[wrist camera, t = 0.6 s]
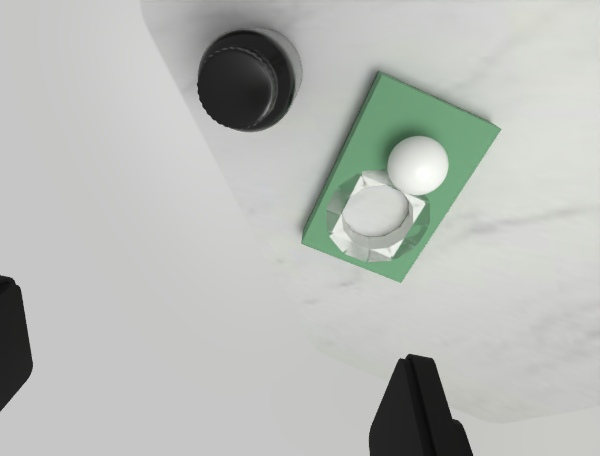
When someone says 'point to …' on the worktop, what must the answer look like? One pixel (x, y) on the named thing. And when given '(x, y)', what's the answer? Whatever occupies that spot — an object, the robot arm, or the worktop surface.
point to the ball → (417, 165)
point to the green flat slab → (373, 172)
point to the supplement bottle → (249, 78)
